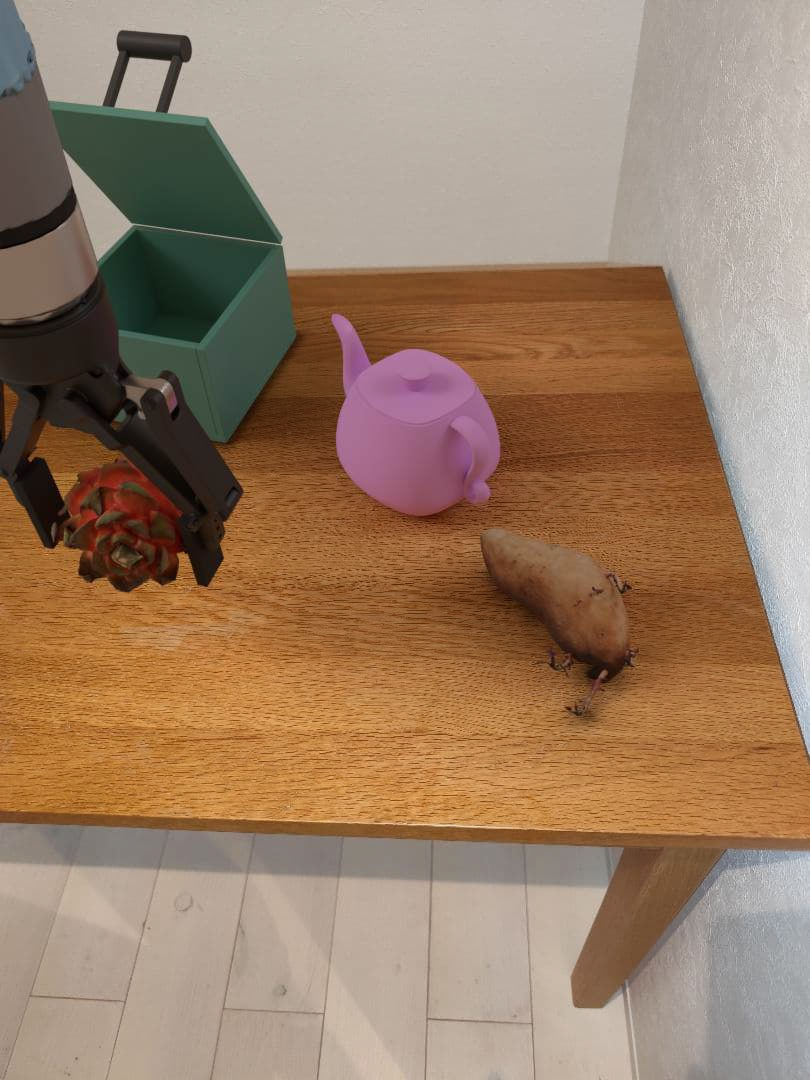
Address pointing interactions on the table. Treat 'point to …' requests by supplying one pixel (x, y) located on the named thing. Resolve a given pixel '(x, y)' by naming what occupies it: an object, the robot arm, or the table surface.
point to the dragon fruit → (121, 527)
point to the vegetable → (565, 602)
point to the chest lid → (161, 154)
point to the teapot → (413, 429)
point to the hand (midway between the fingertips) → (133, 553)
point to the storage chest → (201, 316)
